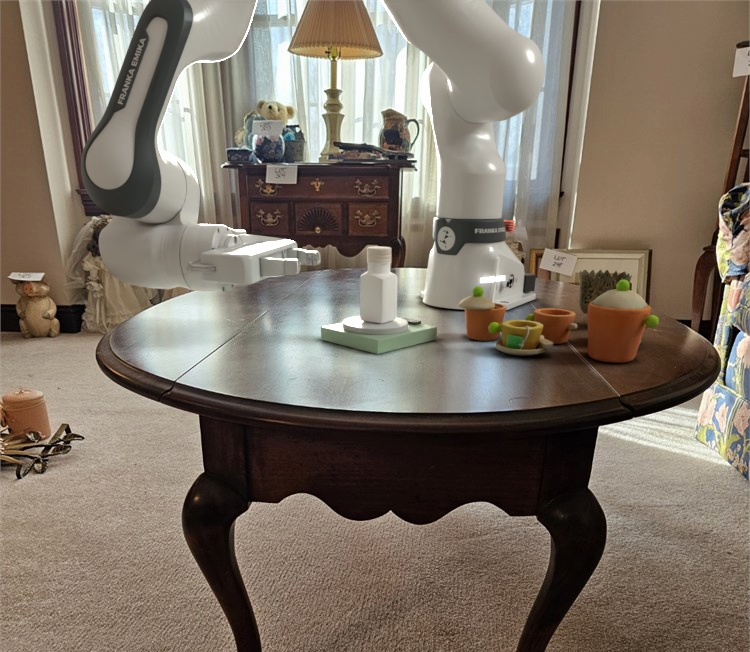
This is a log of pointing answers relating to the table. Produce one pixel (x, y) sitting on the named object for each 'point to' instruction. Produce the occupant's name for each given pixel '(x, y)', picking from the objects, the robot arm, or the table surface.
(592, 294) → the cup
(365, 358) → the table surface
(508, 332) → the toy tea set
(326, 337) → the scale
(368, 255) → the white square bottle
